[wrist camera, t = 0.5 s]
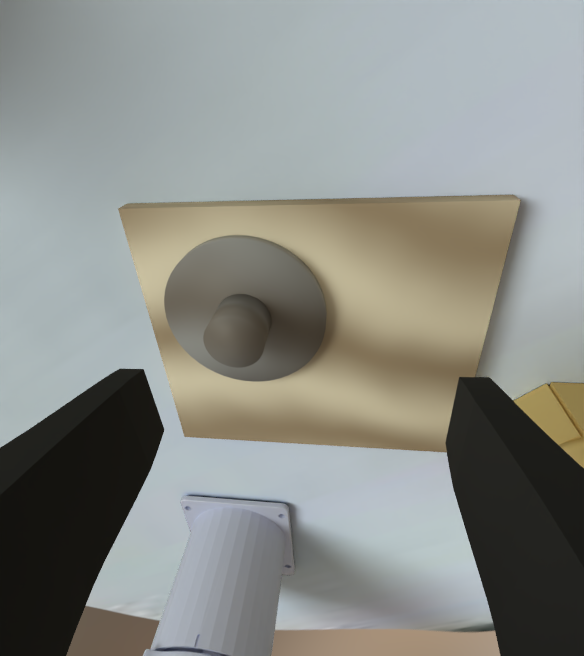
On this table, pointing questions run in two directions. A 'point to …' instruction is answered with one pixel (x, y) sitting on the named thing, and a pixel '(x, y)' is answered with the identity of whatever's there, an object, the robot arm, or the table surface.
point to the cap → (559, 415)
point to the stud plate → (321, 312)
